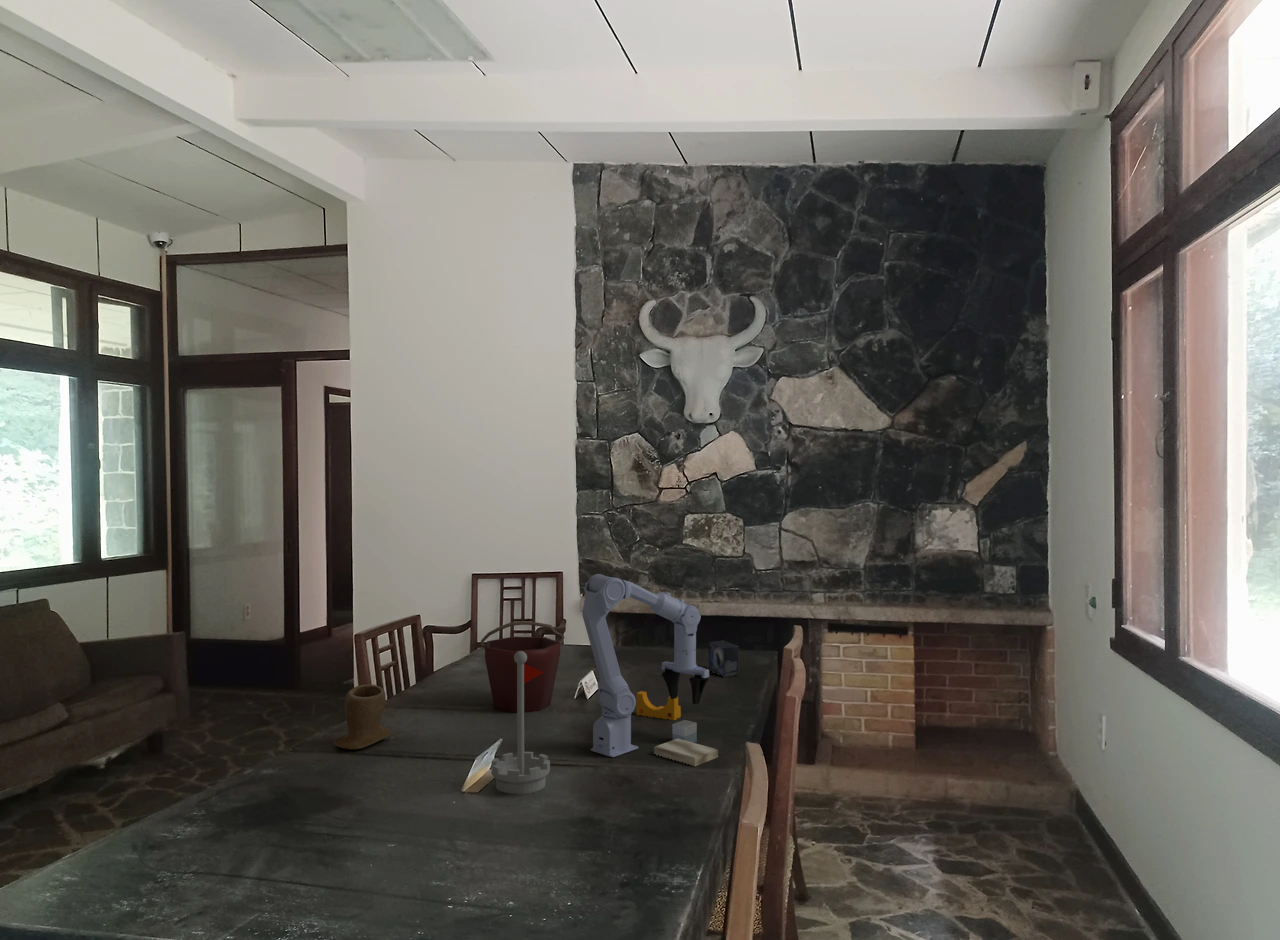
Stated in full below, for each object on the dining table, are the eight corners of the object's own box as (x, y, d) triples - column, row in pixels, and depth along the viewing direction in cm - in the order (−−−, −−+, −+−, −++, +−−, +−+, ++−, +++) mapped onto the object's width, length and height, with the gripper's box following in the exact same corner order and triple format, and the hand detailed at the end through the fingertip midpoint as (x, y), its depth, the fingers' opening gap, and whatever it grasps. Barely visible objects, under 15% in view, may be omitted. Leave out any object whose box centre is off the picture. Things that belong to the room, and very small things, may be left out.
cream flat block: (695, 766, 207) (694, 758, 207) (654, 754, 216) (654, 746, 216) (718, 757, 214) (718, 748, 214) (677, 745, 223) (677, 737, 223)
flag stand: (494, 798, 188) (494, 659, 188) (488, 777, 200) (488, 647, 200) (554, 792, 191) (554, 655, 191) (544, 772, 204) (544, 643, 204)
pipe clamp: (680, 717, 249) (680, 694, 249) (674, 721, 245) (674, 698, 245) (643, 711, 255) (643, 689, 255) (636, 715, 251) (636, 693, 251)
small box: (707, 671, 304) (707, 641, 304) (723, 669, 307) (723, 639, 307) (722, 678, 295) (722, 647, 295) (739, 676, 297) (739, 645, 297)
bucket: (568, 697, 270) (568, 616, 270) (555, 717, 248) (554, 629, 248) (491, 695, 273) (491, 615, 273) (471, 715, 251) (470, 628, 251)
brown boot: (362, 756, 215) (362, 695, 215) (327, 749, 221) (326, 690, 221) (404, 738, 229) (404, 681, 229) (370, 732, 234) (370, 677, 234)
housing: (684, 746, 222) (684, 726, 222) (672, 743, 225) (672, 723, 225) (696, 742, 226) (696, 722, 226) (684, 738, 229) (684, 719, 229)
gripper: (716, 650, 228) (716, 702, 228) (673, 643, 238) (673, 693, 238) (699, 655, 223) (699, 708, 223) (656, 647, 233) (656, 698, 233)
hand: (684, 700), depth 230 cm, fingers open, 7 cm apart
